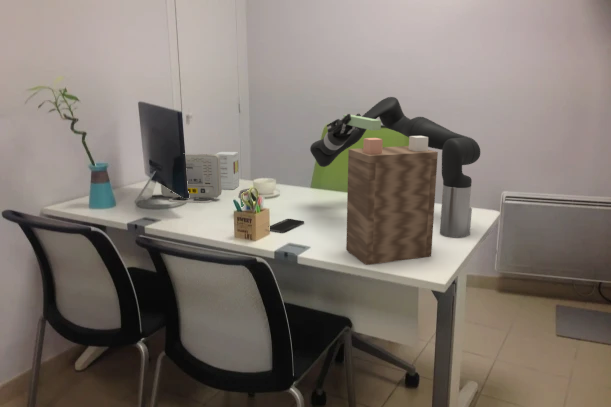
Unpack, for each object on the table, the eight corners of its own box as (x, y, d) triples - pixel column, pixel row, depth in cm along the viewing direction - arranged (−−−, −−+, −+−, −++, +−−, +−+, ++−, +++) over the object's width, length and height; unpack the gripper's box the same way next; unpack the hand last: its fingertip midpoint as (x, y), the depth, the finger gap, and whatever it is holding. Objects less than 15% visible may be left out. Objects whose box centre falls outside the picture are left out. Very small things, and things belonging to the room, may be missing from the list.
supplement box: (233, 190, 250) (232, 154, 246) (215, 189, 252) (213, 154, 248) (239, 185, 260) (238, 151, 255) (221, 185, 261) (220, 151, 257)
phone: (264, 228, 188) (287, 218, 200) (264, 231, 188) (287, 221, 201) (283, 231, 184) (305, 221, 196) (283, 234, 184) (305, 224, 197)
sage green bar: (350, 123, 186) (351, 114, 185) (380, 130, 166) (381, 120, 165) (343, 123, 185) (343, 114, 184) (372, 130, 165) (372, 120, 164)
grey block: (420, 149, 160) (421, 135, 159) (427, 150, 156) (428, 137, 155) (408, 149, 159) (409, 136, 158) (415, 151, 155) (416, 137, 154)
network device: (223, 198, 234) (221, 153, 229) (217, 203, 226) (216, 156, 221) (166, 197, 236) (163, 152, 232) (159, 201, 228) (156, 155, 223)
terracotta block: (375, 151, 155) (376, 137, 154) (382, 153, 151) (382, 139, 150) (363, 152, 154) (363, 138, 153) (369, 154, 150) (370, 139, 149)
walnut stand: (407, 242, 175) (412, 145, 167) (431, 256, 162) (437, 152, 154) (346, 250, 167) (348, 149, 160) (366, 265, 155) (369, 155, 147)
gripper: (317, 127, 193) (333, 106, 177) (352, 126, 198) (371, 105, 182) (320, 147, 191) (337, 127, 176) (356, 145, 196) (375, 125, 180)
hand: (354, 116), depth 179 cm, fingers closed on sage green bar, 3 cm apart
